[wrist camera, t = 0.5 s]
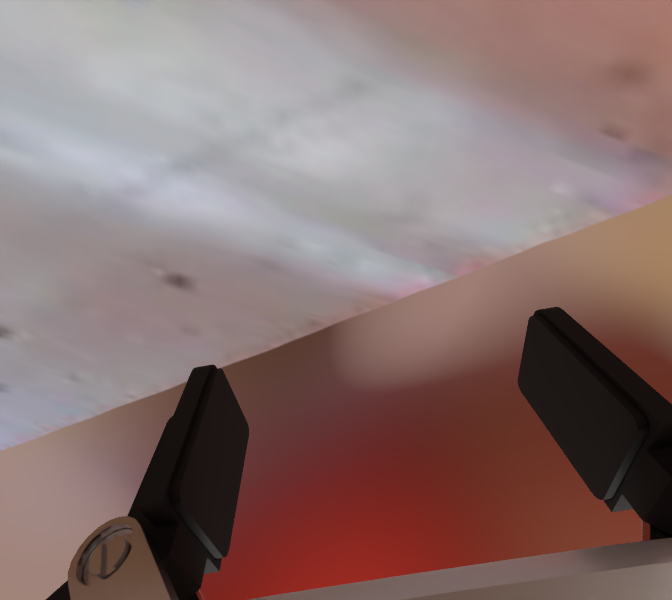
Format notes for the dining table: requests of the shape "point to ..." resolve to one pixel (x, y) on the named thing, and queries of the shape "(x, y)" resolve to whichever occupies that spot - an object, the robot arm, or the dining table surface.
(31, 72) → the dining table surface
